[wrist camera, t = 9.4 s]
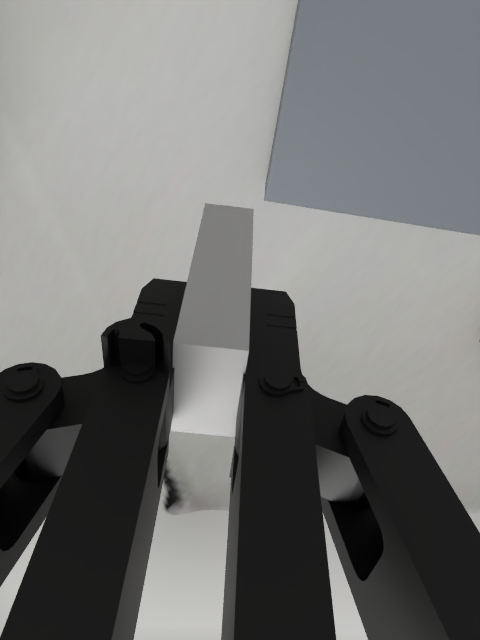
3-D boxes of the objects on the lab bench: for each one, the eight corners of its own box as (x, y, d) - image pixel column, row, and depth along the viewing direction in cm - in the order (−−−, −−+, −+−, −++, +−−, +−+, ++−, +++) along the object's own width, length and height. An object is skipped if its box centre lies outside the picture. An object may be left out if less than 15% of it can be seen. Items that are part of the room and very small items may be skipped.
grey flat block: (265, 184, 36) (263, 214, 31) (314, -89, 26) (320, -99, 21) (565, 233, 36) (603, 269, 32) (725, -16, 26) (810, -12, 22)
